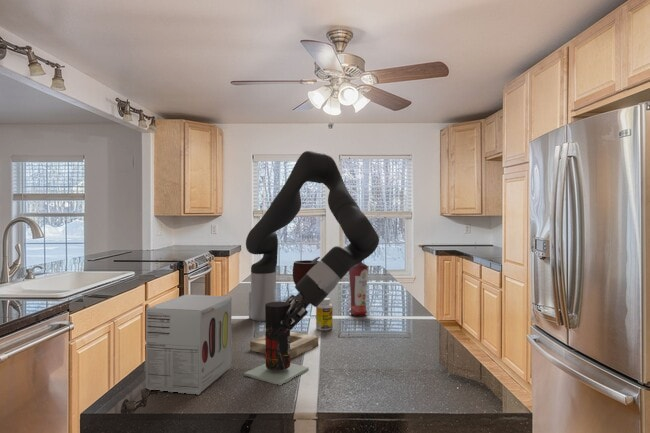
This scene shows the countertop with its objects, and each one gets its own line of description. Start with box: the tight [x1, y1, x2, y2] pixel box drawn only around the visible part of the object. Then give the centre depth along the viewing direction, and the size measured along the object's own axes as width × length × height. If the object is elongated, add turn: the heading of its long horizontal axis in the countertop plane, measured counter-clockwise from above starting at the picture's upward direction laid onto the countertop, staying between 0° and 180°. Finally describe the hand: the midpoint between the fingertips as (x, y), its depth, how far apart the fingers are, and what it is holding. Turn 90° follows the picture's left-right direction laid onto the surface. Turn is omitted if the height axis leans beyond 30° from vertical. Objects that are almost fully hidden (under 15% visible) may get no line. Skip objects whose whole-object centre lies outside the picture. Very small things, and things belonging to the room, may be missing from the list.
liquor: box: [348, 261, 369, 318], centre depth 156 cm, size 7×7×28 cm
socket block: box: [249, 331, 319, 360], centre depth 117 cm, size 14×14×2 cm
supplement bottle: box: [315, 297, 334, 331], centre depth 137 cm, size 6×6×10 cm
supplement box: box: [145, 294, 233, 396], centre depth 95 cm, size 17×13×18 cm
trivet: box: [243, 362, 309, 386], centre depth 98 cm, size 11×11×1 cm
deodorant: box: [264, 301, 291, 370], centre depth 98 cm, size 6×6×15 cm
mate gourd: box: [292, 256, 321, 285], centre depth 189 cm, size 16×14×20 cm
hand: (270, 334), depth 98 cm, fingers closed on deodorant, 6 cm apart
